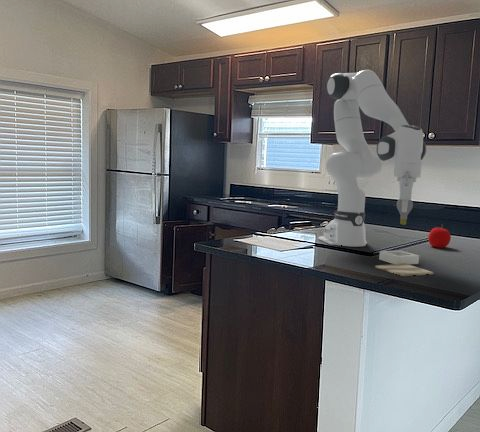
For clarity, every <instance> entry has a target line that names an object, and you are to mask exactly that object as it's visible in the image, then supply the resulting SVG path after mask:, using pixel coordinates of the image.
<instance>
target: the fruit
mask: <svg viewBox="0 0 480 432" xmlns="http://www.w3.org/2000/svg"><path fill="white" fill-rule="evenodd" d="M443 227H444V226H443V224H441V227H437V226H436V227H434V228H432V229H431V230H430V231H429V233H428V236H427V239H428V243H429V245H431V246H432V247H433V248H438V249H443V248H446V247H447V246H448V245H449V244H450V242H451V239H452V235H451V233H450V231H449V230H448V229H445V228H443Z"/></svg>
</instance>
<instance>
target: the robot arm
mask: <svg viewBox="0 0 480 432" xmlns="http://www.w3.org/2000/svg"><path fill="white" fill-rule="evenodd" d="M326 93H327V94H328V96H329V97H330V98H332V99H334V100H336V101H334V104H333V121H334V128H335V135H336V136H335V137H336V140H337V143H338V144H339V145H340V146H341V147H342V148H344V149H345V150H346V151H339V152H338V151H337V152H334V153H331V154H330V155H329V156H328V157H327V160H326V161H325V163H326V164H325V169H326V172H327V173H328V175H329V176H331V178H332V179H333V181H334V183H335V185H336V189H337V196H338V197H337V198H338V199H337V201H338V202H337V210H335V211H333V212H334V213H333V214H334V219H332V220H331V221H330V222H329V223H328V224H326V225H325V227H324V230H323V235H320V236H318V238H317V239H318V240H320V241H322V242H324V243H326V244H329V245H330V246H331V245H332V246H341V245H342V247H352V248H353V247H356V248H357V247H366V245H367V244H368V241H367V240H366V238H367V237H366V224H365V222H364V221H365V220H366V218H365V217H366V212H365V208H366V207H365V205H366V194H365V191H364V190H363V189H362V188H360V187H359V185H358V180H359V179H360V180H361V179H362V180H363V179H364V180H367V179H372V178H375V177H378V175H380V173H381V171H382V166H383V165H382V161H383V162H386V163H387V162H388V163H394V168H393V176H394V177H396V178H397V179H396V182H399V199H401V200H402V212H407V207H408V200H412V193H413V192H412V191H413V187H414V183H417V179H418V178H421V177H422V176H421V173H422V160H423V159H424V157H425V156H426V153H427V145H426V142H425V141H424V134H423V133H424V131H423V129H422V128H421V127H420V126H416V125H412V124H411V123H410V121H409V119H408V118H407V116H406V115H405V113H404V111H403V110H402V109H401V108H400V107H399V105H397V104H396V103H395V101H394V100H393V99H392V98H391V97H390V95H389V94H388V93H387V91H386V89H385V86H384V84H383V83H382V81H381V79H380V78H379V76H378V75H377V74H376V72H375V71H373V70H371V69H363V70H360V71H359V72H345V73H344V72H343V73H342V72H337V73H336V72H335V73H333V74H331V75H330V77H329V78H328V79H327V83H326ZM360 110H361V111H362V113H363V114H364V115H365V116H367V117H370V118H372V119H375V120H379V121H381V122H384V123H386V124H388V125H389V126H391V127H392V129H393V130H394V132H392V133H390V134H388V135H384V136H382V137H381V138H380V139H379V140H378V142H377V145H376V154H375V152H374V151H373V150H372V149H371V147H370V146H369V145H368V143H367V140H366V139H365V135H364V131H363V126H362V124H363V123H362V119H361V113H360Z"/></svg>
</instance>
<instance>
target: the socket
mask: <svg viewBox="0 0 480 432" xmlns="http://www.w3.org/2000/svg"><path fill="white" fill-rule="evenodd" d="M378 257H379V258H378V260H380V261H383V262H387V263H390V264H408V265H419V260H420V255H418V254H414V253H411V252H408V251H404V250H401V249H400V250H383V251H382V250H380V251H379V256H378Z"/></svg>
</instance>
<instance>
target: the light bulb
mask: <svg viewBox="0 0 480 432" xmlns="http://www.w3.org/2000/svg"><path fill="white" fill-rule="evenodd" d="M396 201H397V202H396V208H397V210H398V212H399V214H400V216H399V217H400V223H399V224H400V225H402V226H405V225H407V219H408V215H409V214H410V213H411V211H412V209H413V208H414V204H413V200H412V199H411V200H408V207H407V212H402V200H401V199H400V198H398V200H396Z"/></svg>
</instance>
